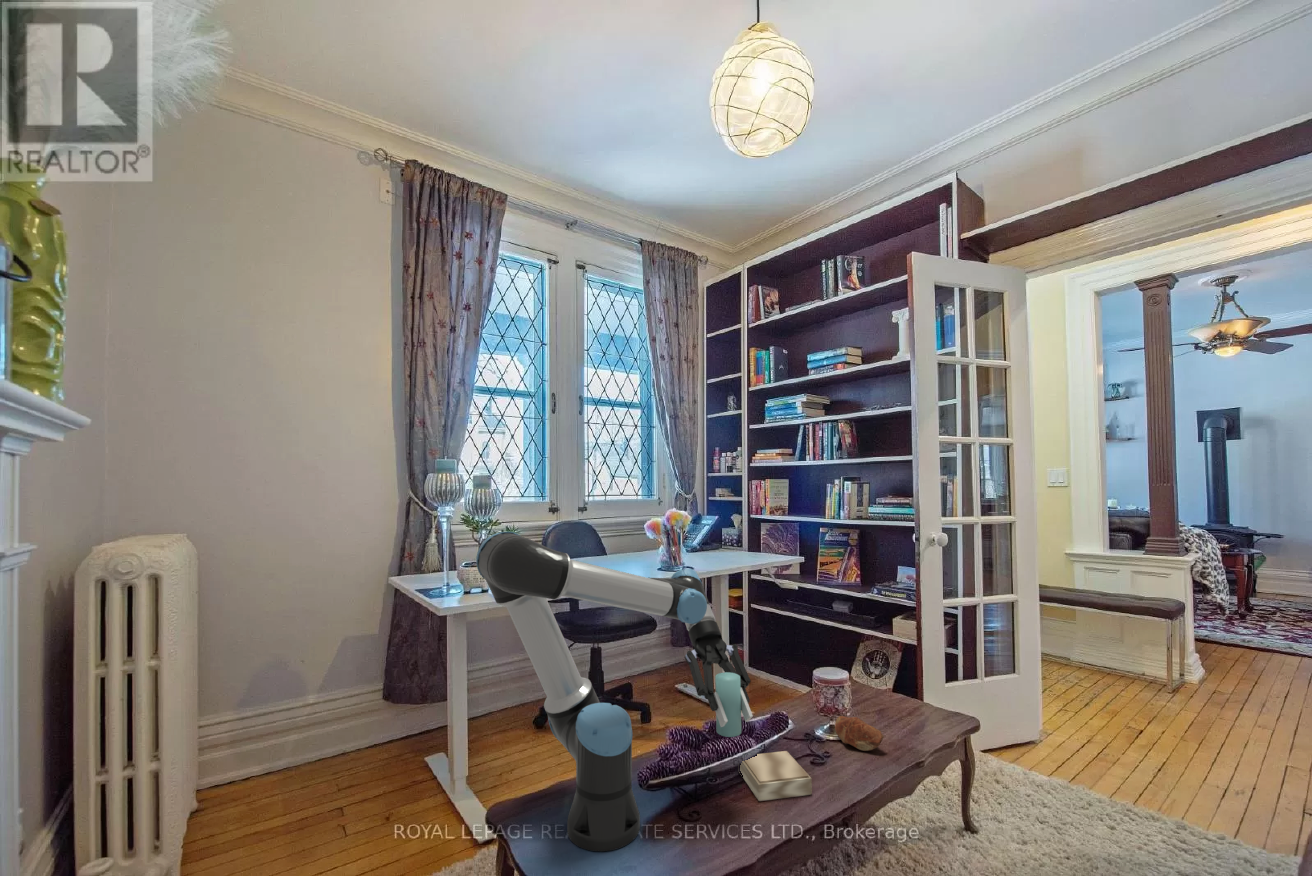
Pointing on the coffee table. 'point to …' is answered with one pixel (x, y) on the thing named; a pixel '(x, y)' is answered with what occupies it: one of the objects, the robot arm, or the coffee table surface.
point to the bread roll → (858, 733)
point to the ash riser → (775, 776)
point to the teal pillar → (729, 703)
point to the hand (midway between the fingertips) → (736, 721)
